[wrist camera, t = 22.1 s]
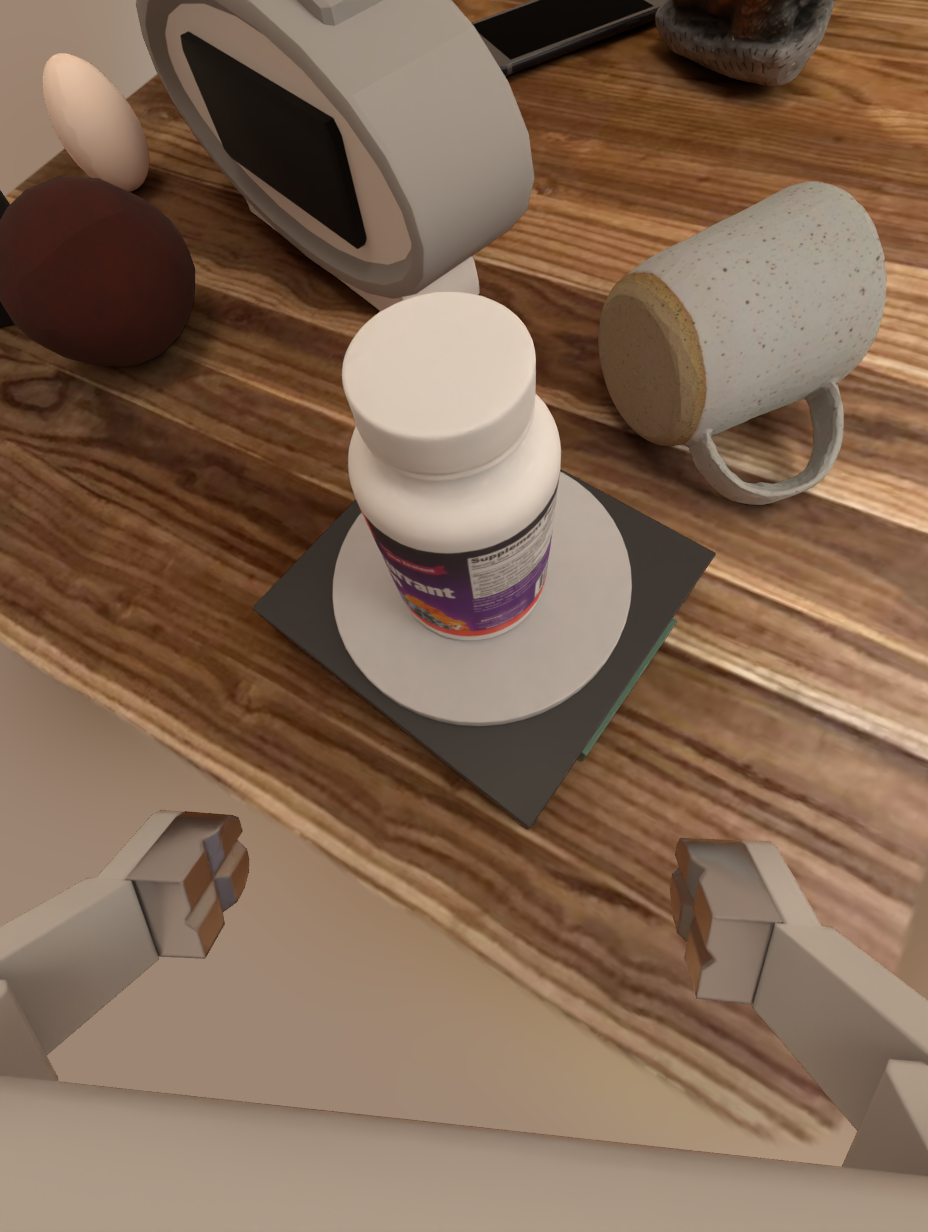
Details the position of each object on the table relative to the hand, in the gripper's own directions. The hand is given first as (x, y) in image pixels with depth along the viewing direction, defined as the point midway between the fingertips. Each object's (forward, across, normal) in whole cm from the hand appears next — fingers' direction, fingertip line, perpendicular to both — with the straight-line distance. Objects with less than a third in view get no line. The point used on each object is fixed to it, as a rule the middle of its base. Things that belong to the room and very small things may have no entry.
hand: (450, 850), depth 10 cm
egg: (+35, +25, -21) cm, 48 cm away
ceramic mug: (+20, -10, -6) cm, 24 cm away
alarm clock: (+30, +9, -16) cm, 35 cm away
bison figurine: (+41, -15, -27) cm, 52 cm away
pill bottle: (+11, 0, -2) cm, 12 cm away
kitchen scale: (+13, 0, 0) cm, 13 cm away
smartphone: (+46, -4, -32) cm, 56 cm away
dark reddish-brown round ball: (+25, +20, -11) cm, 33 cm away
